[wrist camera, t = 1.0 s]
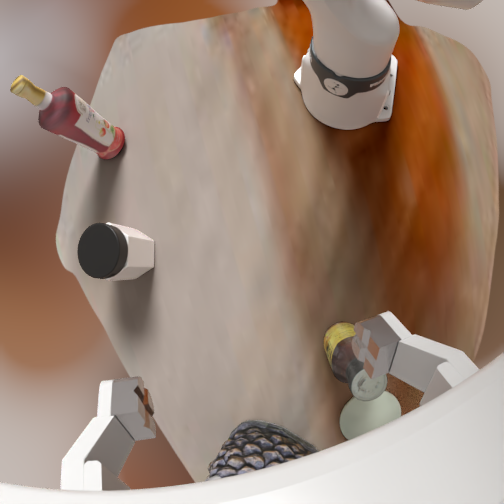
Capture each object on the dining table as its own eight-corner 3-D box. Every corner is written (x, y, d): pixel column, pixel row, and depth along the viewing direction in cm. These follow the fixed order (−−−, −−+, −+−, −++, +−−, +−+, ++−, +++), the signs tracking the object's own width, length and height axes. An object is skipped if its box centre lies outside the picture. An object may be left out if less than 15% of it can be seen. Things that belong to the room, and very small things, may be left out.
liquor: (132, 151, 56) (34, 86, 28) (102, 168, 56) (-2, 117, 29) (125, 122, 56) (36, 51, 29) (96, 139, 57) (2, 81, 29)
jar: (108, 261, 55) (68, 259, 43) (127, 222, 55) (89, 212, 43) (144, 287, 54) (106, 291, 42) (165, 246, 54) (130, 240, 42)
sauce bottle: (315, 335, 49) (324, 375, 30) (347, 312, 49) (376, 339, 29) (336, 366, 48) (356, 420, 29) (368, 344, 48) (405, 386, 28)
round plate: (361, 379, 48) (362, 381, 47) (411, 401, 46) (412, 403, 45) (327, 430, 48) (327, 432, 47) (377, 449, 46) (378, 451, 45)
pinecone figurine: (207, 447, 51) (156, 532, 26) (252, 393, 50) (215, 479, 25) (296, 497, 48) (289, 590, 23) (347, 449, 47) (367, 545, 22)
